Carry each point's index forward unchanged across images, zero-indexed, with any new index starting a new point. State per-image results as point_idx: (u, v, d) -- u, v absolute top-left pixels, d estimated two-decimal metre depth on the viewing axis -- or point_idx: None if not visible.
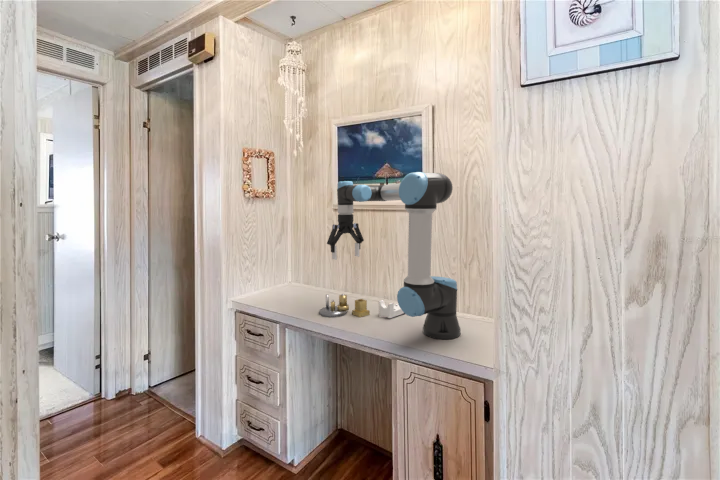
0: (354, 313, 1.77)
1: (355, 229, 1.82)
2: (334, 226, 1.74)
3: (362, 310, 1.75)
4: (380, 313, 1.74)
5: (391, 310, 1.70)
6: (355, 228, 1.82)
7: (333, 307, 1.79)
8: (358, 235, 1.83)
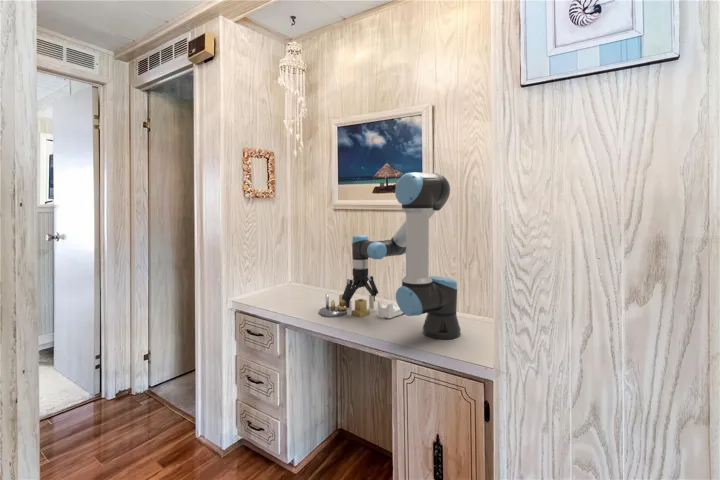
0: (354, 313, 1.77)
1: (370, 282, 1.80)
2: (349, 281, 1.71)
3: (362, 310, 1.75)
4: (379, 313, 1.74)
5: (391, 310, 1.70)
6: (370, 281, 1.80)
7: (333, 307, 1.79)
8: (373, 287, 1.81)
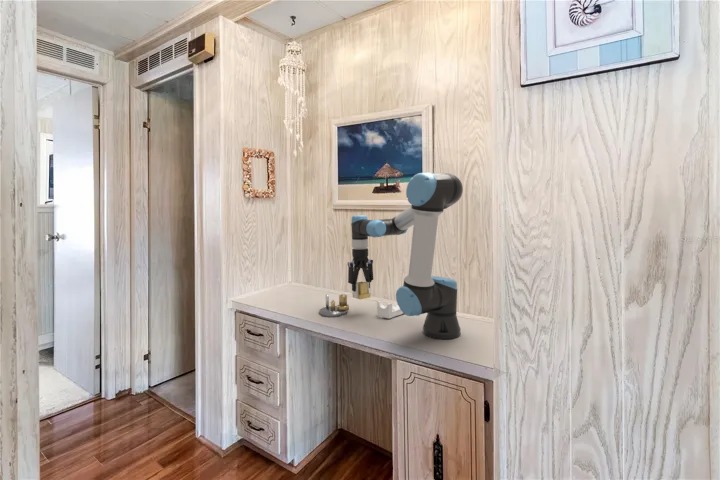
0: None
1: (368, 265, 1.78)
2: (349, 264, 1.70)
3: (363, 292, 1.74)
4: (379, 313, 1.73)
5: (390, 310, 1.70)
6: (368, 264, 1.78)
7: (333, 307, 1.79)
8: (369, 272, 1.78)
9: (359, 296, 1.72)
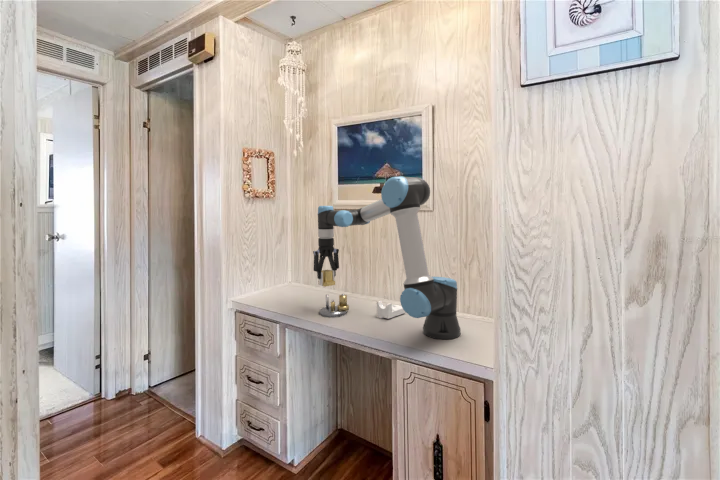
0: None
1: (334, 254, 1.85)
2: (315, 253, 1.77)
3: (328, 280, 1.81)
4: (378, 314, 1.73)
5: (389, 311, 1.70)
6: (334, 253, 1.84)
7: (333, 307, 1.79)
8: (335, 261, 1.85)
9: (324, 283, 1.79)
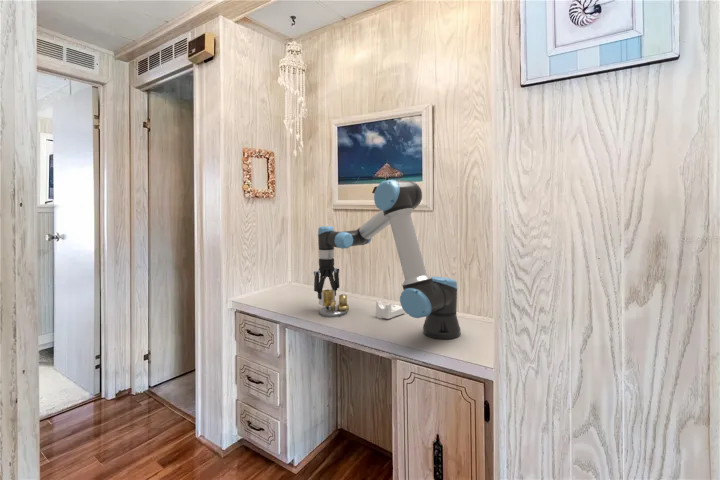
0: None
1: (334, 274, 1.86)
2: (315, 274, 1.78)
3: (328, 300, 1.82)
4: (378, 314, 1.73)
5: (389, 311, 1.69)
6: (335, 273, 1.85)
7: (333, 307, 1.79)
8: (335, 281, 1.86)
9: (324, 303, 1.80)
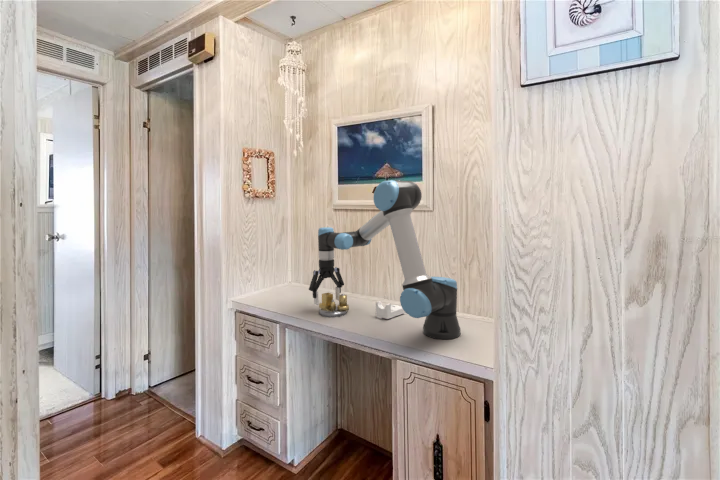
0: (321, 306, 1.83)
1: (336, 273, 1.86)
2: (315, 272, 1.78)
3: (328, 303, 1.82)
4: (377, 314, 1.73)
5: (389, 311, 1.69)
6: (336, 272, 1.86)
7: (333, 307, 1.79)
8: (339, 279, 1.87)
9: (324, 307, 1.80)
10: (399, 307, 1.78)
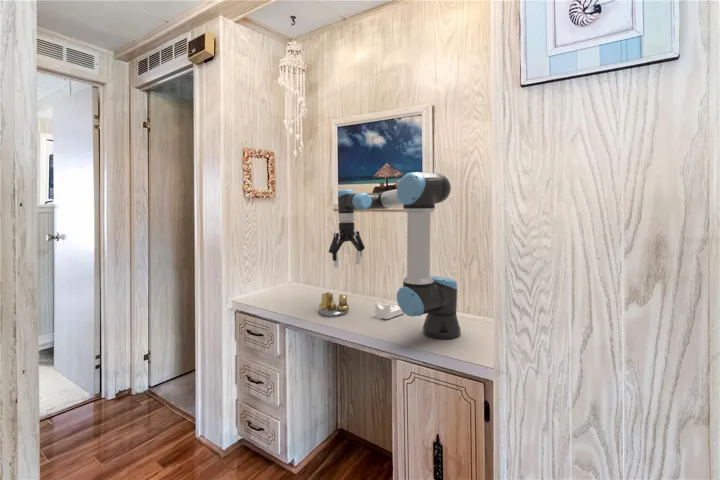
0: (321, 306, 1.83)
1: (356, 237, 1.84)
2: (335, 234, 1.75)
3: (328, 303, 1.82)
4: (377, 314, 1.72)
5: (388, 311, 1.69)
6: (356, 236, 1.83)
7: (333, 307, 1.79)
8: (359, 243, 1.85)
9: (324, 307, 1.80)
10: (398, 307, 1.77)
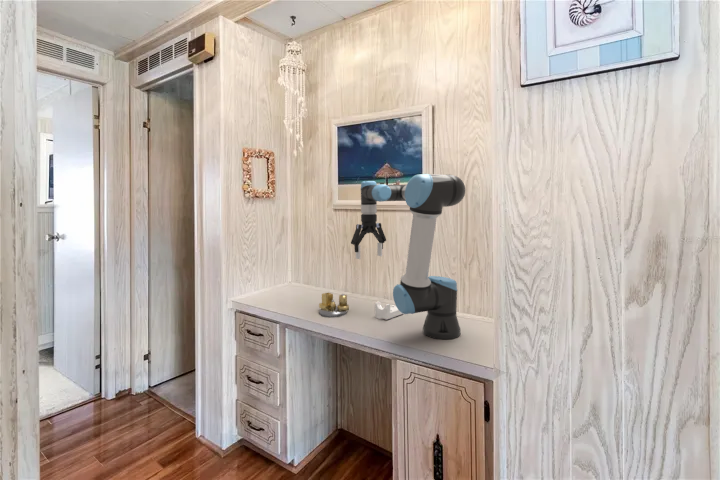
0: (321, 306, 1.83)
1: (378, 229, 1.83)
2: (358, 226, 1.74)
3: (328, 303, 1.82)
4: (376, 314, 1.72)
5: (388, 311, 1.69)
6: (378, 228, 1.82)
7: (333, 307, 1.79)
8: (381, 235, 1.84)
9: (324, 307, 1.80)
10: None
